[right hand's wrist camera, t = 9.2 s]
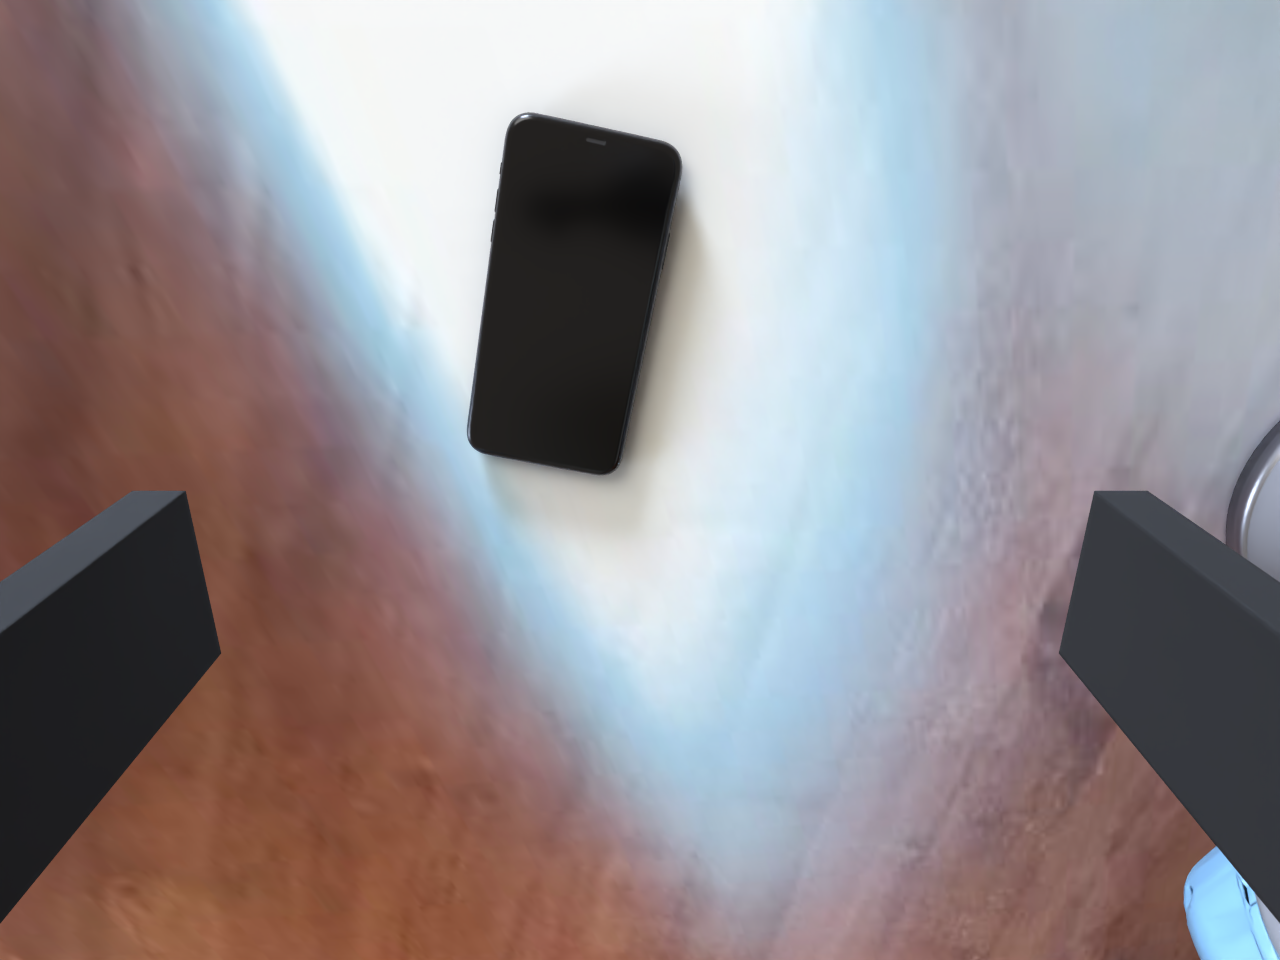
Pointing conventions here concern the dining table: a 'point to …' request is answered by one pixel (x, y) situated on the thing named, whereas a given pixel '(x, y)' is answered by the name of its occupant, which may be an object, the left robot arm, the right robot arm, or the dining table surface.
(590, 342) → the smartphone
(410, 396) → the dining table surface
